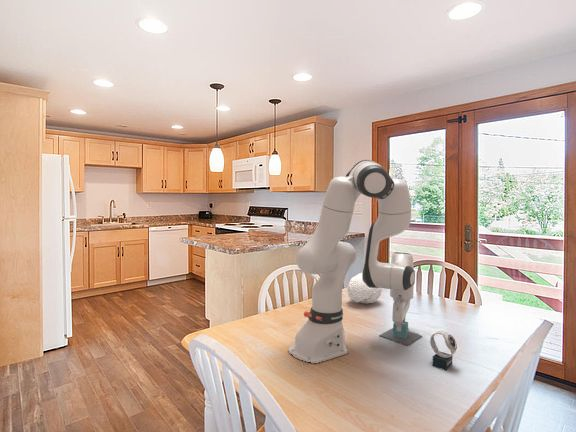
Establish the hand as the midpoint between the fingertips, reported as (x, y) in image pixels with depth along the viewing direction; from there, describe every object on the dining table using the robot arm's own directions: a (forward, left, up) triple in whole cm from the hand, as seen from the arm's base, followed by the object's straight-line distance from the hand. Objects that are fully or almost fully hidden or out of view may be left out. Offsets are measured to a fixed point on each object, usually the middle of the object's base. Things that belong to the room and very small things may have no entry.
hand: (400, 326), depth 134 cm
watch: (-11, -21, -4) cm, 24 cm away
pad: (0, 0, -4) cm, 4 cm away
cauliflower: (+24, +33, -4) cm, 41 cm away
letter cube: (0, 0, -4) cm, 4 cm away
